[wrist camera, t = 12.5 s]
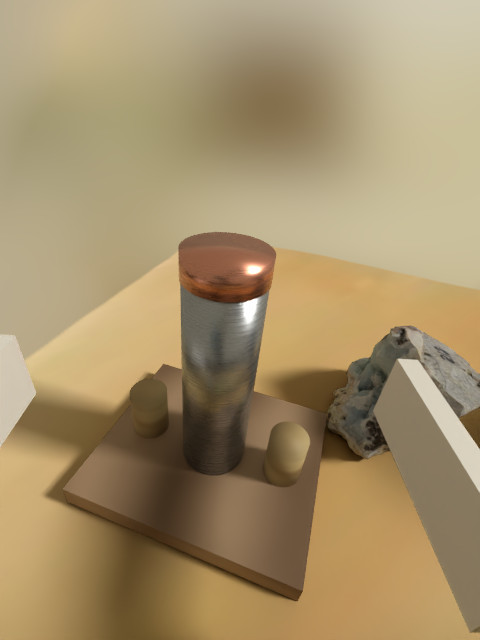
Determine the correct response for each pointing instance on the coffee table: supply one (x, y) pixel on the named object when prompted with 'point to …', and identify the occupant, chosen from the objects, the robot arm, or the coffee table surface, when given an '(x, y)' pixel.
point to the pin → (220, 343)
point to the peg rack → (211, 485)
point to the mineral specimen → (371, 376)
